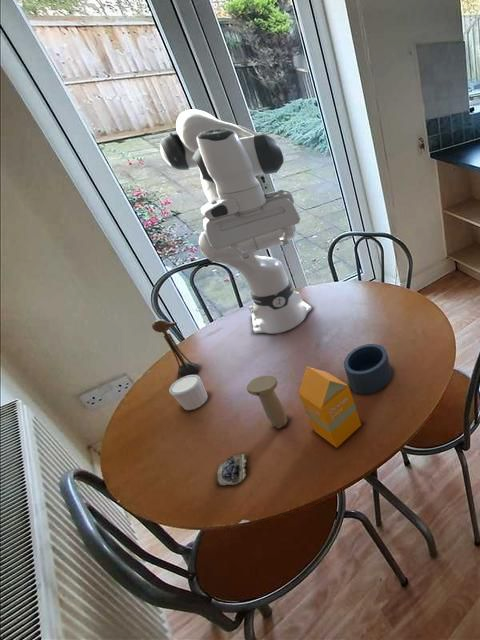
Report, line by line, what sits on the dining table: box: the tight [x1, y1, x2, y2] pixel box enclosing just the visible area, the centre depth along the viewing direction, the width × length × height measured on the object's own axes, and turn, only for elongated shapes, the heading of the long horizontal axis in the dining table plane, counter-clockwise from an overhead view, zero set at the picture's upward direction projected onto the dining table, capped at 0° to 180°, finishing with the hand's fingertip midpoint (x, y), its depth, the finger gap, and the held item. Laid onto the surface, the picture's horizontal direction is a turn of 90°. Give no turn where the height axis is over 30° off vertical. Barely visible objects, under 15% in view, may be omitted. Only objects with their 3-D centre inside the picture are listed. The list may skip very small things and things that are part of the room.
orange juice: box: [298, 365, 362, 448], centre depth 97 cm, size 8×9×20 cm
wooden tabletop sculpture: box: [151, 319, 200, 378], centre depth 114 cm, size 6×5×20 cm
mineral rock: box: [216, 453, 247, 486], centre depth 92 cm, size 7×8×2 cm
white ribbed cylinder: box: [168, 374, 209, 411], centre depth 108 cm, size 7×7×7 cm
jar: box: [343, 343, 392, 395], centre depth 114 cm, size 12×12×8 cm
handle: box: [246, 375, 289, 429], centre depth 100 cm, size 5×6×15 cm
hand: (265, 251), depth 102 cm, fingers open, 8 cm apart
